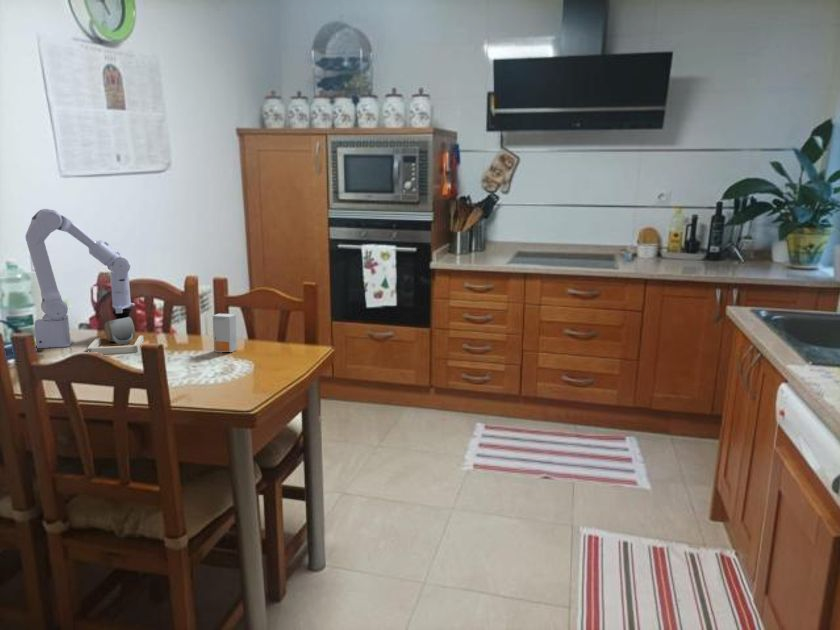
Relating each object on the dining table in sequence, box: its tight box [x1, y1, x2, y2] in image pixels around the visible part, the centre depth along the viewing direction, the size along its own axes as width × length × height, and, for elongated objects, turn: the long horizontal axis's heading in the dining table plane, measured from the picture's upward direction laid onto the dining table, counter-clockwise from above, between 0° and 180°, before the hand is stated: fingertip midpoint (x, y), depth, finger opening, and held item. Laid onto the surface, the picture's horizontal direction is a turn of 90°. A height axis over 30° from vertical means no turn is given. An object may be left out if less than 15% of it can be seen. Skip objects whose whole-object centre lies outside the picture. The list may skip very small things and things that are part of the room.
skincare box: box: [212, 312, 238, 353], centre depth 201 cm, size 6×4×12 cm
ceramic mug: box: [104, 316, 136, 345], centre depth 212 cm, size 11×8×8 cm
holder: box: [86, 335, 145, 355], centre depth 205 cm, size 14×15×2 cm
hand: (123, 329), depth 220 cm, fingers closed
